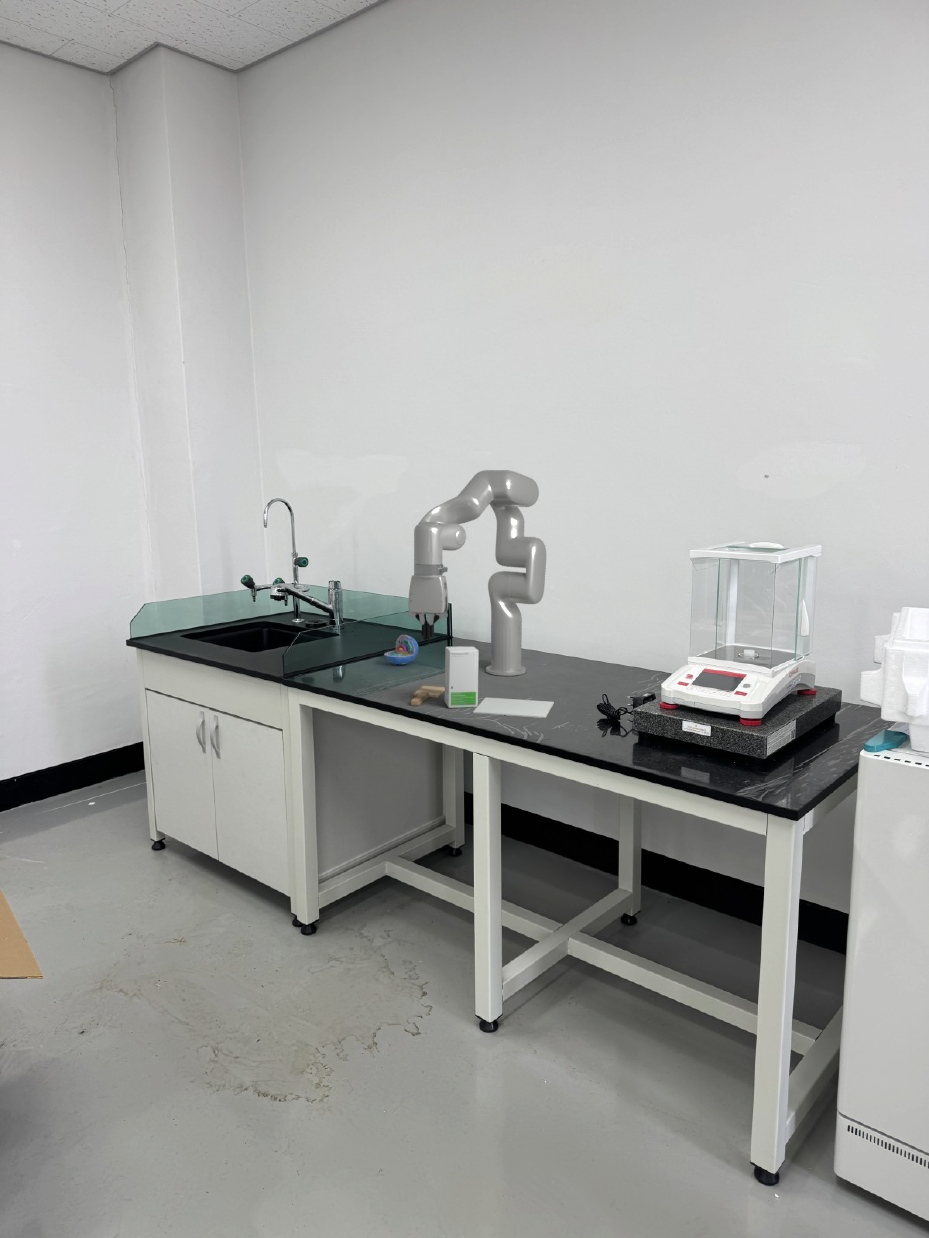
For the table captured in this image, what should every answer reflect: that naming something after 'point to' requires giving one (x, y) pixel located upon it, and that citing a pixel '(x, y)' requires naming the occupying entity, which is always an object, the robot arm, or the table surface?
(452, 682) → the skincare box
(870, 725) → the table surface
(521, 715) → the mat
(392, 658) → the cell model
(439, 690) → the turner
